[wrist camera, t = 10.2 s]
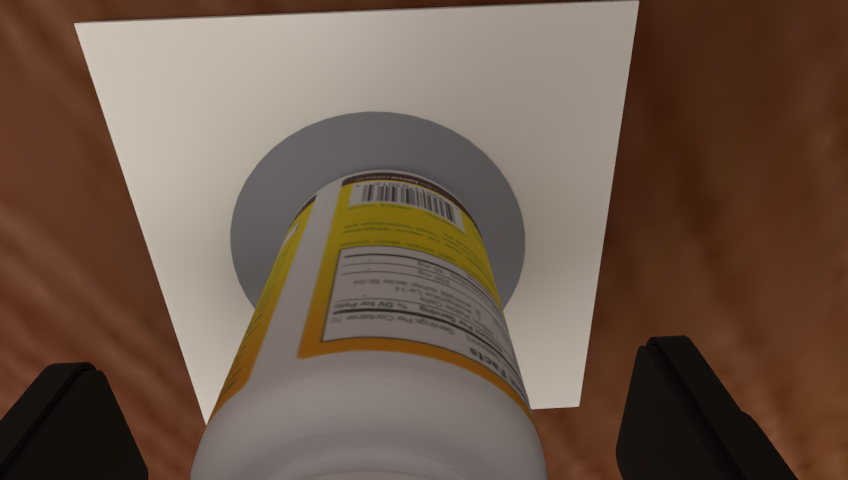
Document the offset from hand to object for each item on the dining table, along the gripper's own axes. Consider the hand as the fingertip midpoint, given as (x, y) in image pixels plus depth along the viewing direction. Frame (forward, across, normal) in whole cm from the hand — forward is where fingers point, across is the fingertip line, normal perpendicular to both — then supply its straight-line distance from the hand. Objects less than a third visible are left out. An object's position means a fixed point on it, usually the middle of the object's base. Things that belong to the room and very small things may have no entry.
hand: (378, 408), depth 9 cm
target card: (+7, 0, +1) cm, 7 cm away
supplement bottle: (+6, 0, 0) cm, 6 cm away
